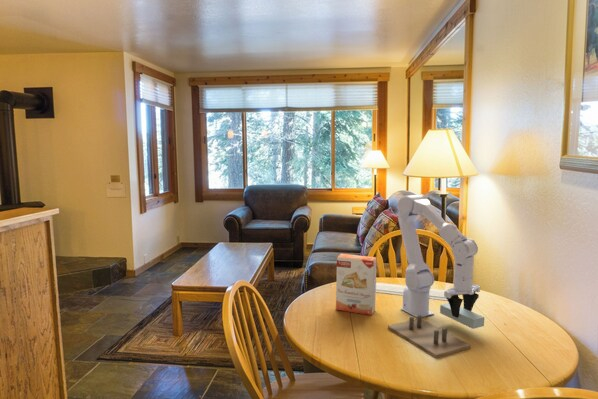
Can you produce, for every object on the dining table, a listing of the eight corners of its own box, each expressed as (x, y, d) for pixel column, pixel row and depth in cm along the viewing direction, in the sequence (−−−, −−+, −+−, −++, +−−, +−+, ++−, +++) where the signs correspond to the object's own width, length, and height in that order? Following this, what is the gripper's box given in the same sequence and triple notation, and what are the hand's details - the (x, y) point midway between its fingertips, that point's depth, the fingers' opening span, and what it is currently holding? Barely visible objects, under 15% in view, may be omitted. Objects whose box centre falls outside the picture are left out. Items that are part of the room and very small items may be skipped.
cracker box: (335, 310, 151) (336, 256, 149) (339, 305, 157) (340, 252, 154) (372, 316, 146) (373, 260, 143) (375, 310, 151) (376, 256, 149)
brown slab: (387, 328, 136) (388, 314, 135) (419, 321, 142) (420, 307, 141) (436, 358, 116) (436, 341, 115) (470, 348, 122) (471, 332, 121)
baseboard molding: (449, 303, 160) (449, 294, 171) (450, 296, 160) (449, 287, 171) (371, 294, 170) (376, 285, 181) (372, 287, 170) (376, 279, 181)
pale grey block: (440, 313, 140) (440, 304, 140) (450, 310, 142) (450, 302, 142) (473, 328, 128) (473, 319, 127) (483, 326, 130) (484, 317, 129)
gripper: (457, 282, 126) (454, 323, 128) (488, 276, 133) (486, 315, 134) (440, 276, 133) (438, 315, 134) (471, 270, 139) (469, 308, 141)
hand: (461, 314), depth 135 cm, fingers closed on pale grey block, 5 cm apart
